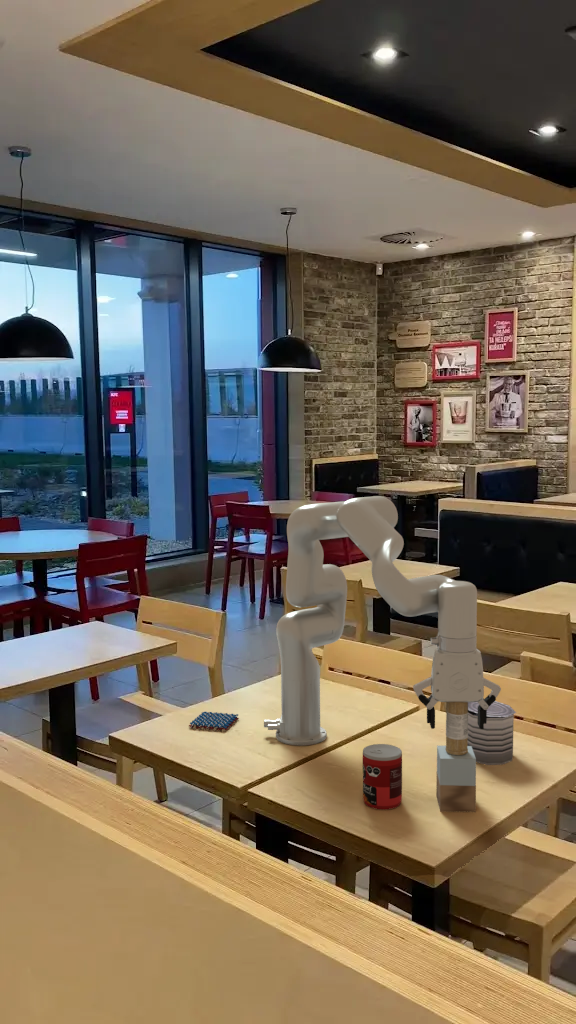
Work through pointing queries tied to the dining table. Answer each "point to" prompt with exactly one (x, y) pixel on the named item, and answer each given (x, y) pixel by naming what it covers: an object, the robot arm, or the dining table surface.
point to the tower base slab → (456, 798)
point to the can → (491, 734)
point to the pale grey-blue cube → (456, 767)
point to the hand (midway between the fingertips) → (456, 726)
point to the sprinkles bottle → (457, 728)
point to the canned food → (382, 776)
